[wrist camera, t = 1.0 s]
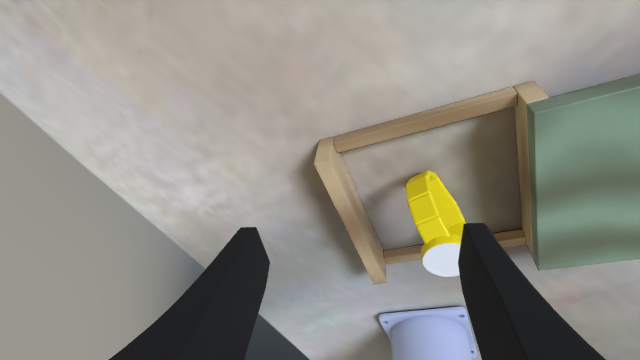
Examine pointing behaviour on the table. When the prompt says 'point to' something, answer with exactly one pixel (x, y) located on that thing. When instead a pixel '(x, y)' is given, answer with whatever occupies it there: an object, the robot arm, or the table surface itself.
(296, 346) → the table surface
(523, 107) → the step shelf
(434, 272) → the watch
